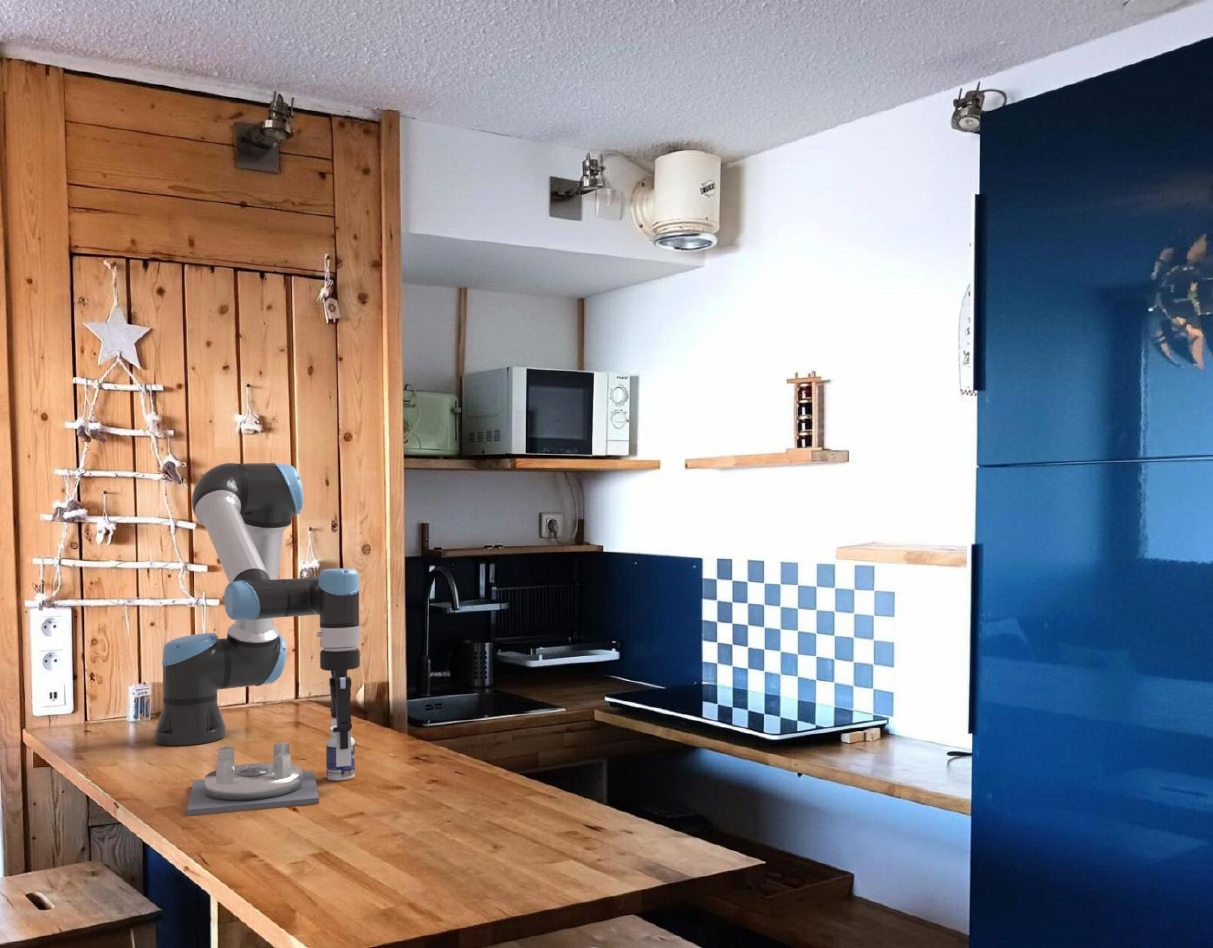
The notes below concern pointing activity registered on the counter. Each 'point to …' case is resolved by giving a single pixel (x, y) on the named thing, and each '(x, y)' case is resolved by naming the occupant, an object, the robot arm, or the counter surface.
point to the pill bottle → (332, 770)
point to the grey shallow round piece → (253, 776)
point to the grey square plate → (208, 805)
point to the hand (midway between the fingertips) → (341, 758)
